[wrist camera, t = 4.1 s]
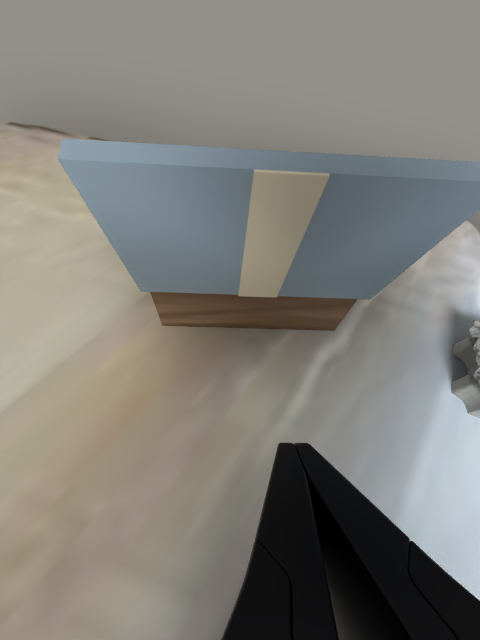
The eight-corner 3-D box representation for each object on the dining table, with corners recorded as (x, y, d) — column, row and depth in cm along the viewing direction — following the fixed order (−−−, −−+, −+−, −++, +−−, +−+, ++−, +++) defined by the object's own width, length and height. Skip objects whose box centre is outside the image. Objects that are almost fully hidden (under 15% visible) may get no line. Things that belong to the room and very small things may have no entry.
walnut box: (334, 330, 26) (363, 290, 20) (162, 325, 25) (146, 282, 20) (320, 238, 30) (341, 186, 25) (175, 232, 30) (165, 177, 24)
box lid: (368, 287, 20) (370, 300, 20) (142, 279, 19) (140, 292, 19) (504, 163, 10) (511, 185, 10) (62, 138, 10) (57, 161, 9)
